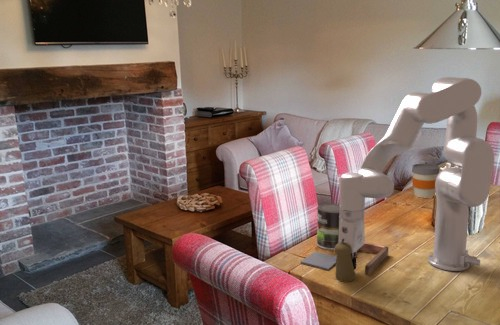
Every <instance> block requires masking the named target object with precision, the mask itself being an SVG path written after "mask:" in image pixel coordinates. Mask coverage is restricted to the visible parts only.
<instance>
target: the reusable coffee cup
mask: <svg viewBox="0 0 500 325" xmlns="http://www.w3.org/2000/svg"><path fill="white" fill-rule="evenodd" d="M411 168H412V169H411V172H412V177H411V178H412V179H411V182H412V183H411V184H412V187H413V193H414V194H413V195H415V196H418V197H424V198H427V197H433V196H434V197H435V195H436V190H435V181H436V178H437V176H438V174H439V173H440V166H438V165H437V164H436V165H435V164H430V163H416V164H413V165H412V167H411ZM415 196H414V197H415Z"/></svg>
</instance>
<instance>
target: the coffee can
mask: <svg viewBox="0 0 500 325" xmlns="http://www.w3.org/2000/svg"><path fill="white" fill-rule="evenodd" d="M339 207H340V203H339V204H338V203H322V204H320V205H318V206H316V209H317V217H316V218H317V219H316V220H317V223H316V224H317V226H316V227H317V229H316V230H317V231H316V233H317V234H316V246H318V248H321V249H323V250H327V251H329V250H330V251H334V248H335V246H336V244H338V243H339V229H340V221H341V219H340V218H339Z"/></svg>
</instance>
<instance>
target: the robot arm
mask: <svg viewBox="0 0 500 325" xmlns="http://www.w3.org/2000/svg"><path fill="white" fill-rule="evenodd" d="M481 97H482V86H481V85H480V84H479V83H478V82H477V81H476V80H474V79H472V78H469V77H467V78H466V77H453V76H452V77H451V76H449V77H441V78H438V79H436V80H434V82H433V84H432V86H431V93H428V92H418V91H417V92H411V93H408V94H407V95H406V96H405V97H404V98H403V99H402V101H401V103H400V104H399V107H398V109H397V111H396V112H395V115H394V117H393V118H392V121H391V123H390V125H389V126H388V129H387V131H386V132H385V134H384V136H383V137H382V138H381V139H380V140H378V142H377V143H375V145H374V146H373V147H372V148H371V149H370V150H369V152H368V153H367V154H366V156H365V157H364V159H363V161H362V162H361V165H360V168H359V169H358V172H345V173H343V174H341V176H340V178H339V179H340V180H339V205H340V207H339V218H340V219H341V221H340V229H339V243H347V245H349V246H350V247H351V249H352V253H351V259H352V263H353V267H354V271H355V270H356V269H357V255H358V252H357V250H358V249H359V248H361V247H362V246H363V245H364V243H365V242H366V241H365V240H366V238H365V237H366V236H365V231H366V230H365V227H366V226H365V211H366V210H365V208H366V205H365V204H366V199H367V198H368V199H378V200H380V199H381V200H382V199H386V198H389V197H390V196H391V195H392V194H393V192H394V190H395V184H394V181H393V180H392V179H391V177H389V176H388V175H386V174H384V173H383V171H384V169H385V167H386V165H387V164H388V163H389V161H391V160H392V158H394V157H396V156H397V155H399V154H402V153H404V152H407V151H409V150H410V149H412V148H413V145H414V143H415V142H416V139H417V137H418V135H419V134H420V132H421V129H422V127H423V126H424V124H431V125H432V124H436V123H439V122H442V121H444V120H446V129H445V136H444V138H445V139H444V145H443V156H444V159H445V160H446V161H448V162H449V163H451V164H452V165H456V166H458V167H461V169H460V168H457V167H447V168H443V169H442V170H440V171H439V174H438V176H437V178H436V181H435V196H436V211H435V213H436V214H435V224H434V225H435V226H434V238H433V240H434V242H433V253H429V255H428V256H427V262H428V263H429V264H430V265H431V266H433V267H434V268H435V267H436V268H437V269H439V270H443V271H449V272H451V271H452V272H461V271H466V270H468V269H469V268H470V267H471V265H474V266H478V267H479V266H480V265H481V259H478V256H474V255H470V254H469V250H468V249H467V241H468V240H467V239H468V231H469V230H468V229H469V218H470V210H469V209H470V208H475V207H479V206H482V205H483V204H484V203H485V202H486V200H487V198H488V197H489V194H490V190H491V184H492V178H493V173H494V172H493V170H494V165H495V152H494V149H493V147H492V145H491V144H490V143H489V142H488V141H487V140H484V139H482V138H479V137H477V132H478V112H477V109H476V105H477V104H478V102H479V101H480V99H481Z"/></svg>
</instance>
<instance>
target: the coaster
mask: <svg viewBox="0 0 500 325" xmlns="http://www.w3.org/2000/svg"><path fill="white" fill-rule="evenodd" d="M336 258H337V255H332V254H327V253H324V252H319V251H313V252H312V253H311V254H309V255H308V256H306V257H305V258H303V259H302V260H301V261H300V264H302V265H306V266H310V267H314V268H319V269H321V270H324V271H325V270H326V271H330V270H331V269H332V268H333V267H334V266H336Z"/></svg>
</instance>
